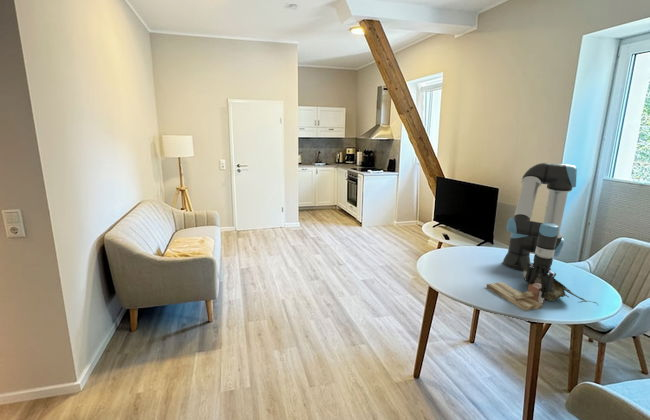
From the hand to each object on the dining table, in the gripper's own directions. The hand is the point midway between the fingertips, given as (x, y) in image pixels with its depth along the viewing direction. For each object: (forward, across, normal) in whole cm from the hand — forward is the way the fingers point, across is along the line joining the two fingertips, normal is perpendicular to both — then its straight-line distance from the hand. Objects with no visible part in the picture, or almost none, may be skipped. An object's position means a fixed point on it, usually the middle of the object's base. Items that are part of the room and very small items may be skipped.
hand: (534, 300), depth 165 cm
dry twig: (+1, -1, +26) cm, 26 cm away
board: (0, -6, -8) cm, 10 cm away
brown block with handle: (0, 0, -5) cm, 5 cm away
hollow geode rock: (+1, -8, +14) cm, 16 cm away
